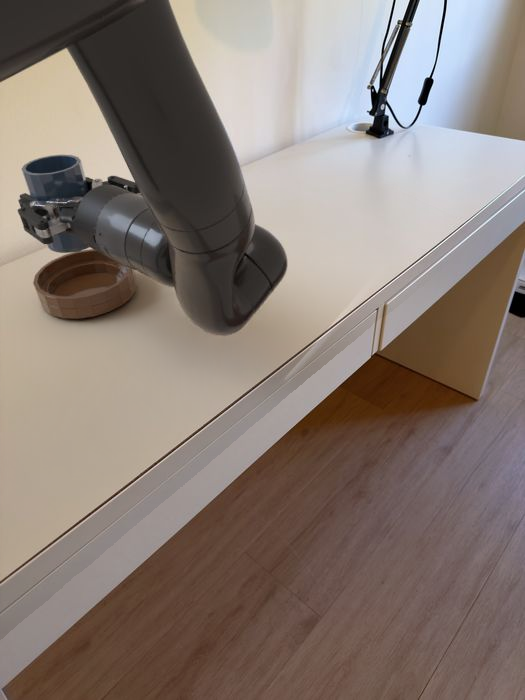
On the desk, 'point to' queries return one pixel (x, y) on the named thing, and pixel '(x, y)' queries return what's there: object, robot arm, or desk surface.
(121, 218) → the robot arm
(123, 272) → the bowl
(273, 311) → the desk surface
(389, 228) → the desk surface
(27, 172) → the cup
